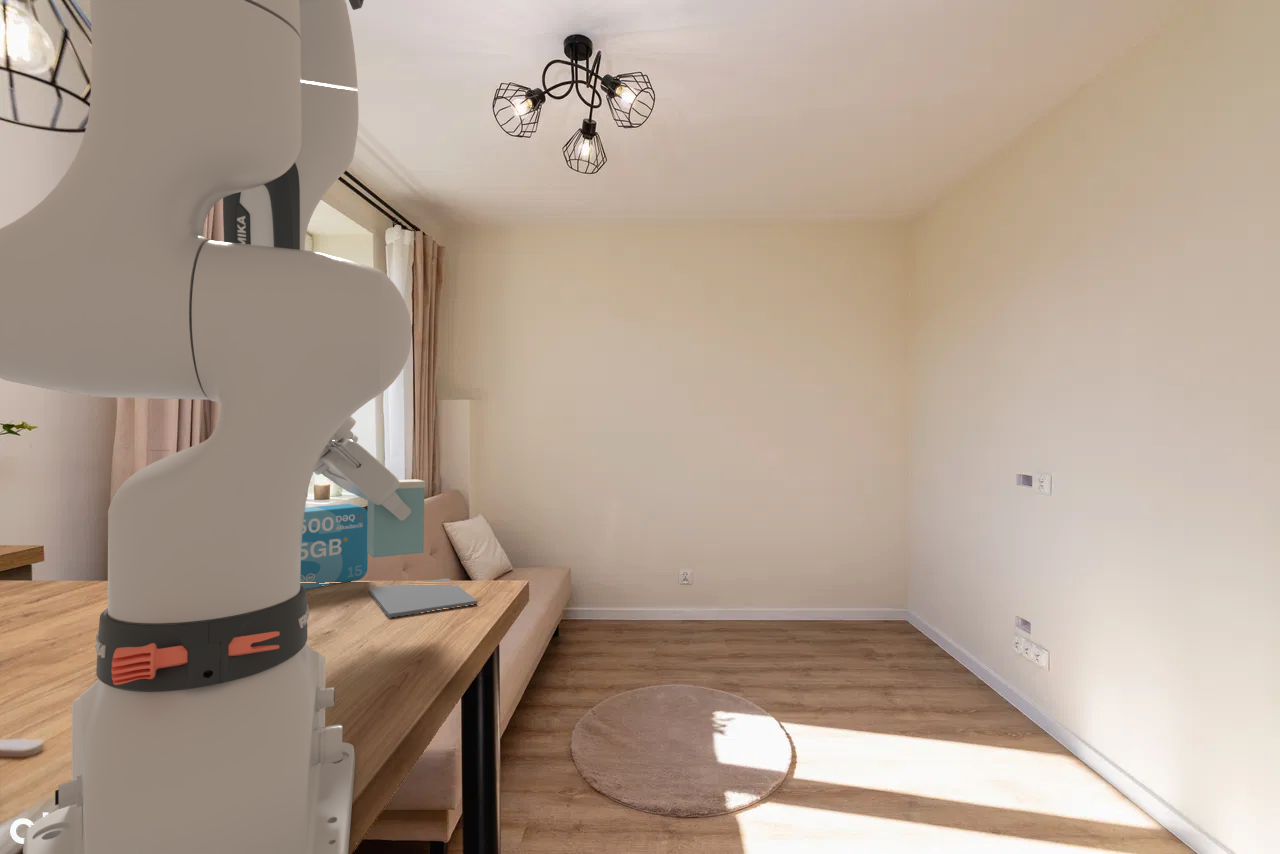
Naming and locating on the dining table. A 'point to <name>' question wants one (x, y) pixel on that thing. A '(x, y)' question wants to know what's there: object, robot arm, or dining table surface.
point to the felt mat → (420, 597)
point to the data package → (333, 545)
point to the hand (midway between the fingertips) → (400, 513)
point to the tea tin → (397, 524)
